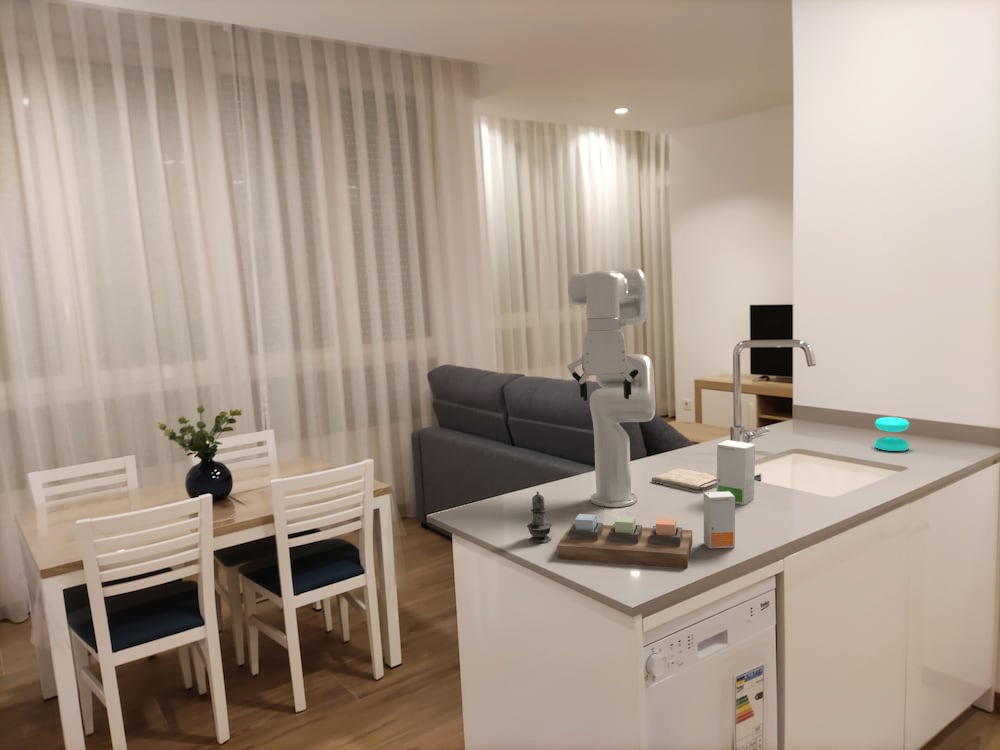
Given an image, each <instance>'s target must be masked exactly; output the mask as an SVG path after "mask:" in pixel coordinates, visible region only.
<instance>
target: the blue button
mask: <svg viewBox="0 0 1000 750" xmlns="http://www.w3.org/2000/svg"><path fill="white" fill-rule="evenodd" d="M574 523H575V528H576V530H587V531H594V529H595V527H596V523H597V514H588V513H587V514H586V513H579V514H578V515H577V516H576V517H575V521H574Z"/></svg>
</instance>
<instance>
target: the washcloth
mask: <svg viewBox="0 0 1000 750" xmlns="http://www.w3.org/2000/svg"><path fill="white" fill-rule="evenodd" d="M650 480H651V483H653V482H654V483H653V484H657V483H660V484H659V485H661V484H663V485H662V486H666V485H667V486H666V487H669V486H671V487H670V488H674V487H676V488H675V489H679V488H681V489H680V490H684V489H685V491H688V490H689V492H692V491H694V492H693V493H696V492H697V493H696V494H700V493H704V492H703V491H705V492H708V491H711V490H712V488H713V489H715V488H716V489H717V476H714V475H711V474H709V473H708V472H699V471H696V470H691V469H683V468H673V469H670V470H669V471H666V472H664V473H660V474H656V475H655V476H653V477H651V479H650ZM655 482H656V483H655ZM710 489H711V490H710ZM707 490H708V491H707Z"/></svg>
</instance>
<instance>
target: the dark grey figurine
mask: <svg viewBox="0 0 1000 750" xmlns="http://www.w3.org/2000/svg"><path fill="white" fill-rule="evenodd" d="M544 497H545V496H544V495H542V494H540V492H539V491H536V494H535V495H533V496H532V499H531V500H532V503H531V504H532V509H530V512H531V513H532V520H531V522H529V523H528V524H527V525H526V528H527V529H528V532H529V534H530V535H531V537H529V539H528V541H529V542H530V543H531V544H537V545H541V544H542V545H543V544H548V543H550V542H551V541H552V538H551V537H550V536H548V535H549V534H550V532H551V528H552V523H550V522H549V521H547V519H546V512H547V508H546V507H545V498H544Z"/></svg>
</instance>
